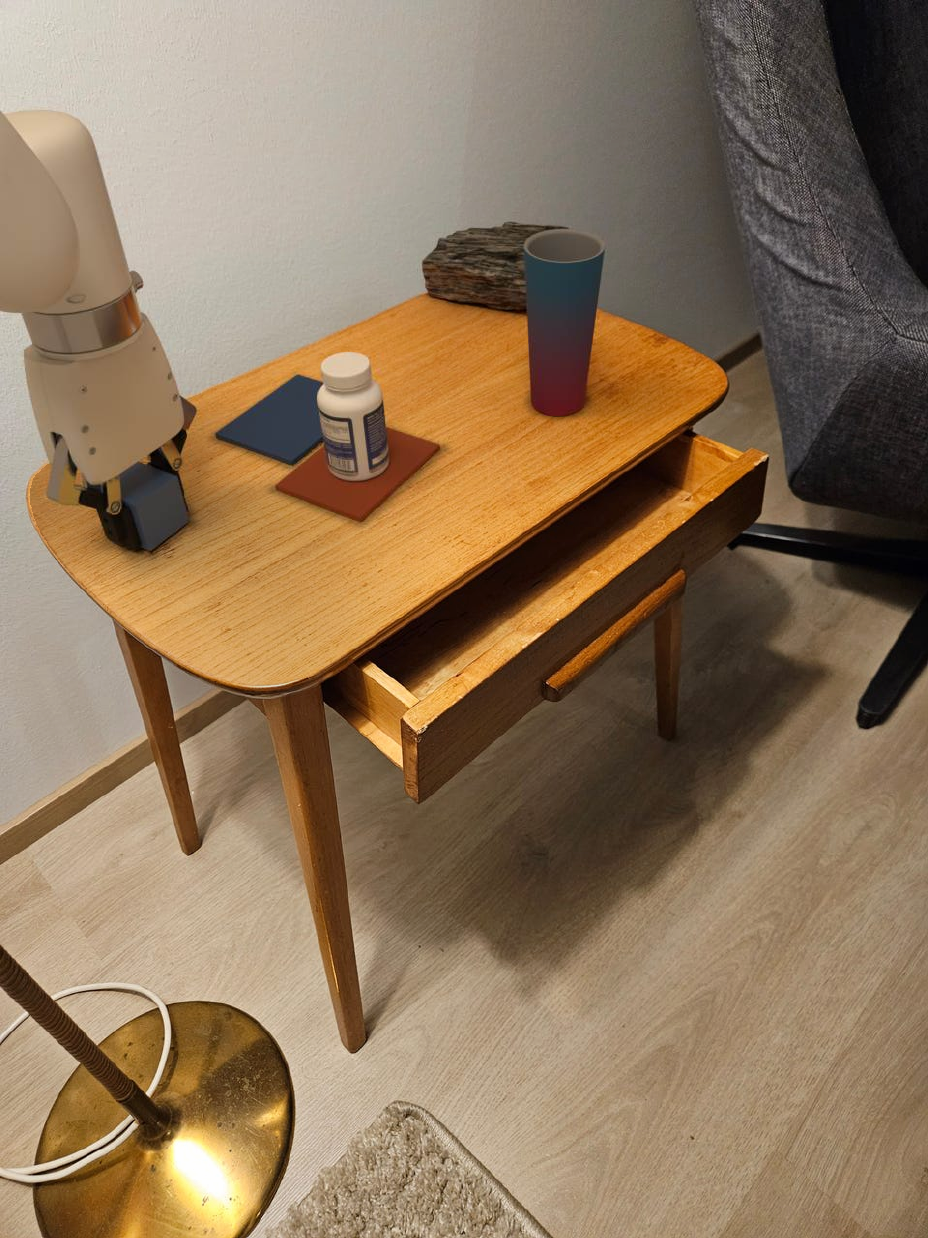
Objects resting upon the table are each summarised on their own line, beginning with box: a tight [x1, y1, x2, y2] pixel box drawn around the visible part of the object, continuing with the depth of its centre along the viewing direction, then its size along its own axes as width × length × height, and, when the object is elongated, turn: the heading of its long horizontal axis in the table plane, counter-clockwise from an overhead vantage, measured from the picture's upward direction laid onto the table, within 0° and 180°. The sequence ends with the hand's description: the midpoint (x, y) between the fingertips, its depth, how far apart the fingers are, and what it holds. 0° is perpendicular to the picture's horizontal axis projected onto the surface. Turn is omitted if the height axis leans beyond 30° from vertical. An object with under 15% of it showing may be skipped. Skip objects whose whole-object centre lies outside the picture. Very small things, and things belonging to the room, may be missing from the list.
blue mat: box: [214, 374, 324, 466], centre depth 90 cm, size 12×9×1 cm
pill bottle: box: [317, 351, 389, 481], centre depth 80 cm, size 5×5×10 cm
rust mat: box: [274, 426, 441, 523], centre depth 84 cm, size 12×9×1 cm
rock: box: [421, 221, 570, 311], centre depth 105 cm, size 12×16×6 cm
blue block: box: [101, 461, 190, 552], centre depth 77 cm, size 4×4×4 cm
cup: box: [524, 228, 606, 417], centre depth 86 cm, size 7×7×15 cm
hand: (149, 524), depth 78 cm, fingers closed on blue block, 4 cm apart
